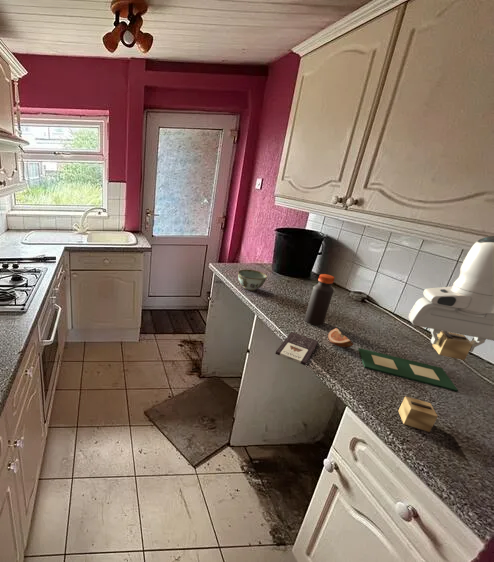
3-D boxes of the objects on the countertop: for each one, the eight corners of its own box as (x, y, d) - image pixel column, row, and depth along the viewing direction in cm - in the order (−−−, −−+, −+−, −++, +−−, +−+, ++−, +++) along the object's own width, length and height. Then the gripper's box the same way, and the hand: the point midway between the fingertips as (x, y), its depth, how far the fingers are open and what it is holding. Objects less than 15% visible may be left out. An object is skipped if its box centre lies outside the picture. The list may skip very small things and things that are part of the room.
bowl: (259, 284, 164) (262, 270, 161) (267, 294, 152) (271, 279, 149) (232, 282, 165) (235, 268, 162) (239, 292, 153) (242, 277, 150)
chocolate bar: (318, 341, 111) (305, 362, 98) (317, 343, 111) (305, 365, 99) (291, 331, 116) (276, 351, 104) (290, 333, 117) (275, 353, 104)
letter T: (456, 350, 85) (464, 333, 83) (464, 360, 80) (473, 342, 78) (432, 345, 87) (439, 329, 85) (439, 354, 83) (447, 337, 81)
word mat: (441, 369, 99) (442, 367, 99) (457, 392, 90) (458, 390, 89) (358, 349, 109) (358, 347, 109) (364, 367, 99) (365, 365, 99)
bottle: (326, 323, 126) (340, 277, 119) (318, 327, 122) (333, 280, 115) (308, 316, 131) (321, 272, 124) (301, 320, 127) (313, 275, 120)
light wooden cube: (422, 418, 80) (431, 402, 78) (429, 432, 75) (438, 415, 74) (398, 411, 82) (405, 395, 80) (403, 424, 78) (411, 407, 76)
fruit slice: (355, 353, 106) (359, 340, 105) (335, 351, 107) (339, 339, 105) (341, 340, 114) (345, 328, 112) (322, 338, 115) (326, 326, 113)
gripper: (524, 304, 76) (498, 352, 81) (417, 287, 85) (399, 331, 90) (542, 314, 71) (512, 364, 76) (425, 295, 80) (405, 342, 85)
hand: (450, 346), depth 83 cm, fingers closed on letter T, 5 cm apart
